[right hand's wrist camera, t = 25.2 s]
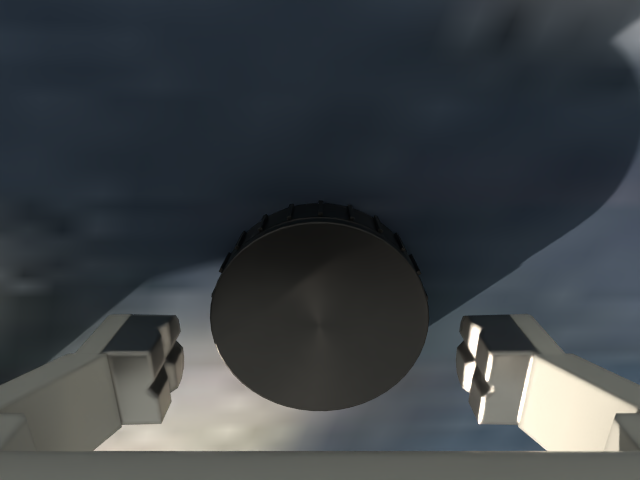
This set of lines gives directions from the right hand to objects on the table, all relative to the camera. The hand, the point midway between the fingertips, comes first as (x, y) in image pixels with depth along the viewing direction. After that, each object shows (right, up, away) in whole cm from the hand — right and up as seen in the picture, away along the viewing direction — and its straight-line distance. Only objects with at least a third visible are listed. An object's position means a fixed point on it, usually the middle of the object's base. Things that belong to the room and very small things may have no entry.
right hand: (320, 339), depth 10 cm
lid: (0, 0, +1) cm, 1 cm away
